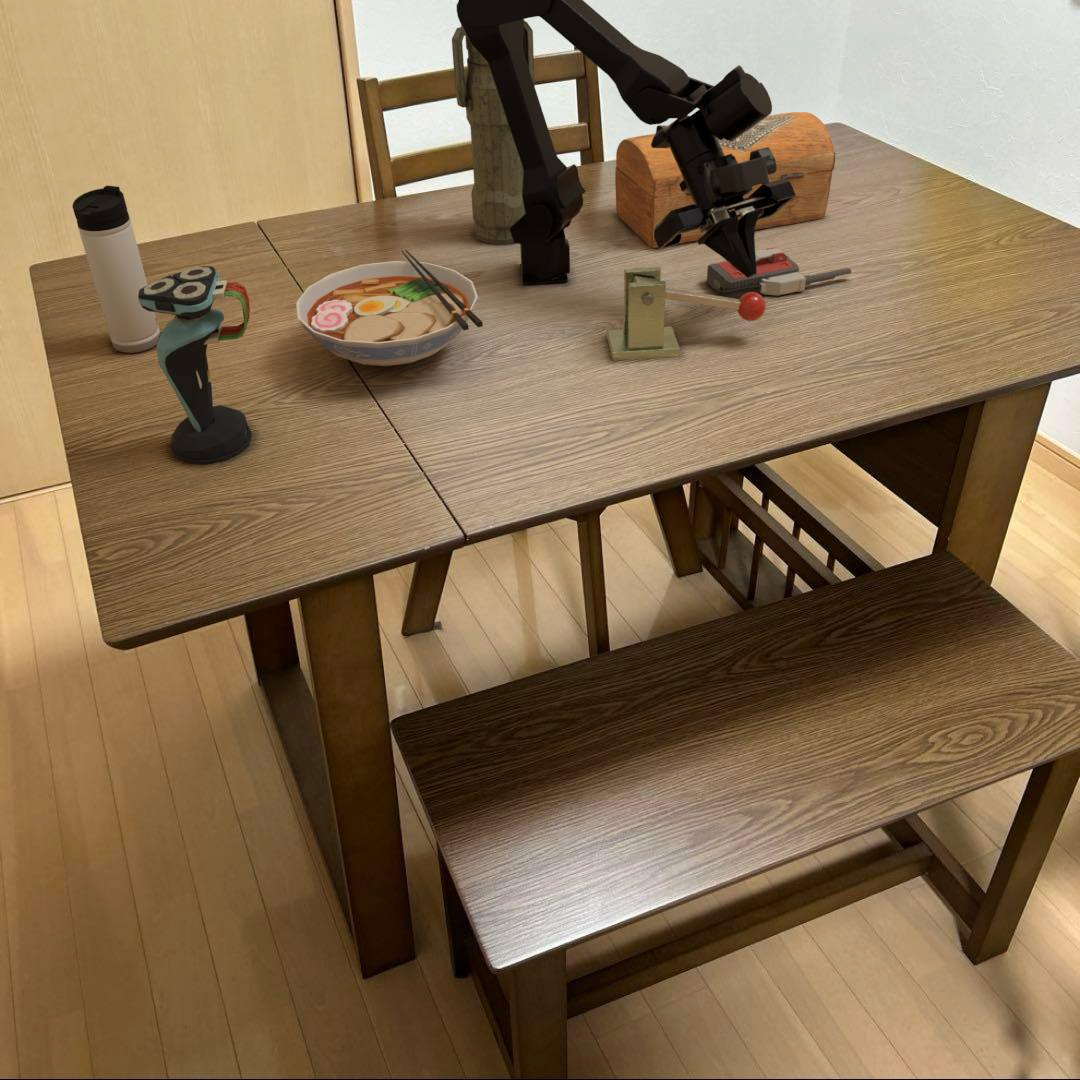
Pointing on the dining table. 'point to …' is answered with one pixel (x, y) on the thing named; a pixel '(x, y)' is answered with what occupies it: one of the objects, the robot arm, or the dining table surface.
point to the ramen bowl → (388, 311)
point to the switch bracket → (643, 320)
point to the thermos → (490, 143)
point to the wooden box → (791, 137)
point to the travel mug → (116, 268)
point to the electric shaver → (197, 361)
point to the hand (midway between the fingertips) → (752, 275)
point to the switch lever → (718, 300)
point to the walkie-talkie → (764, 276)
